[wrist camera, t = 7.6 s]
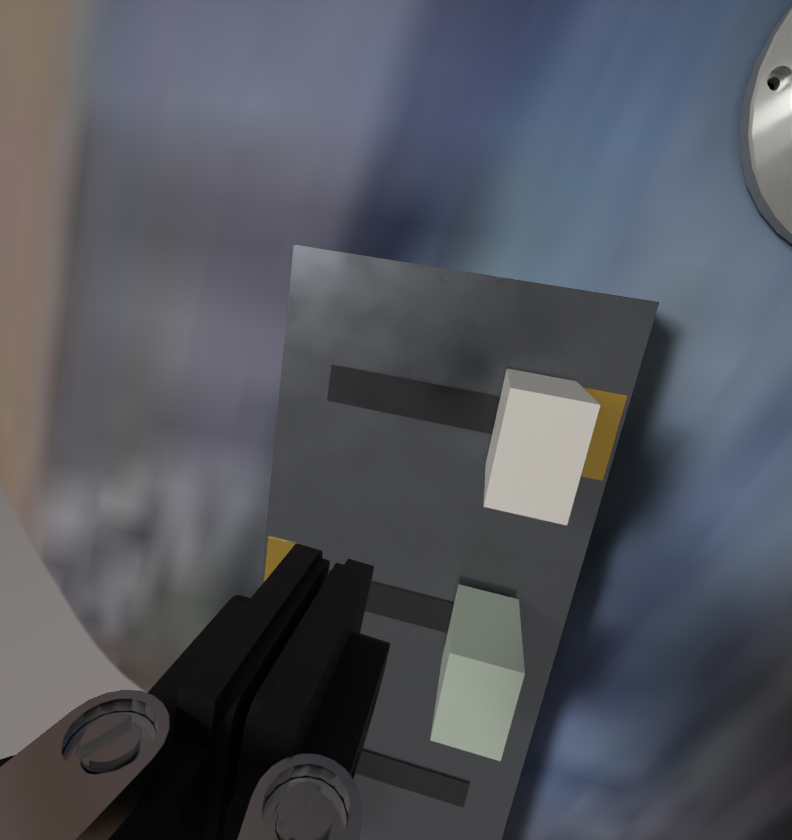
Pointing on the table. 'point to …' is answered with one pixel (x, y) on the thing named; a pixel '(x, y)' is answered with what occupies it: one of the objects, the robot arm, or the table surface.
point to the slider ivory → (538, 446)
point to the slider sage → (479, 673)
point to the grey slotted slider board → (436, 493)
